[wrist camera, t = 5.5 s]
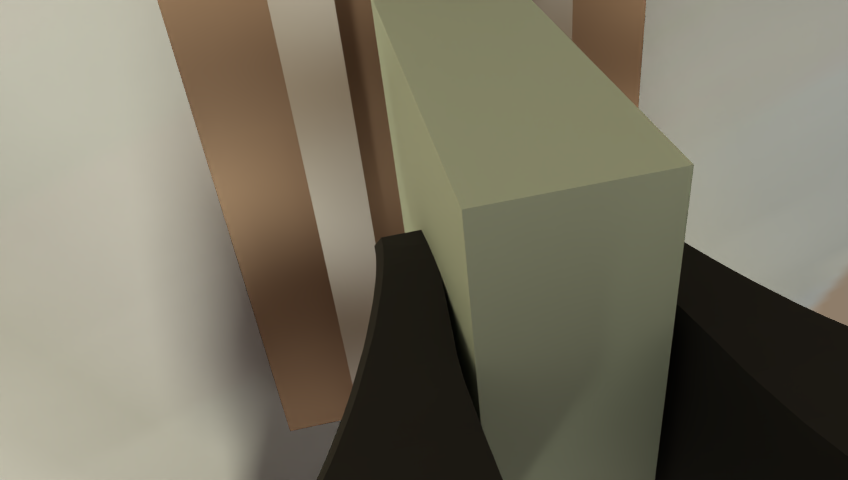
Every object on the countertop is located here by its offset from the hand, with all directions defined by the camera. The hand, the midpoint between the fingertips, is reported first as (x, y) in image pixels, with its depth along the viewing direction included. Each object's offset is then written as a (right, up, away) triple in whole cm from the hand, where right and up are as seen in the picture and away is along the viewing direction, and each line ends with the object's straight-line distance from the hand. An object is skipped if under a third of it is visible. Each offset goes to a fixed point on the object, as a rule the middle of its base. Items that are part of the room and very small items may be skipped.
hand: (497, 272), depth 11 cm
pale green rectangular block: (-1, +1, +3) cm, 3 cm away
